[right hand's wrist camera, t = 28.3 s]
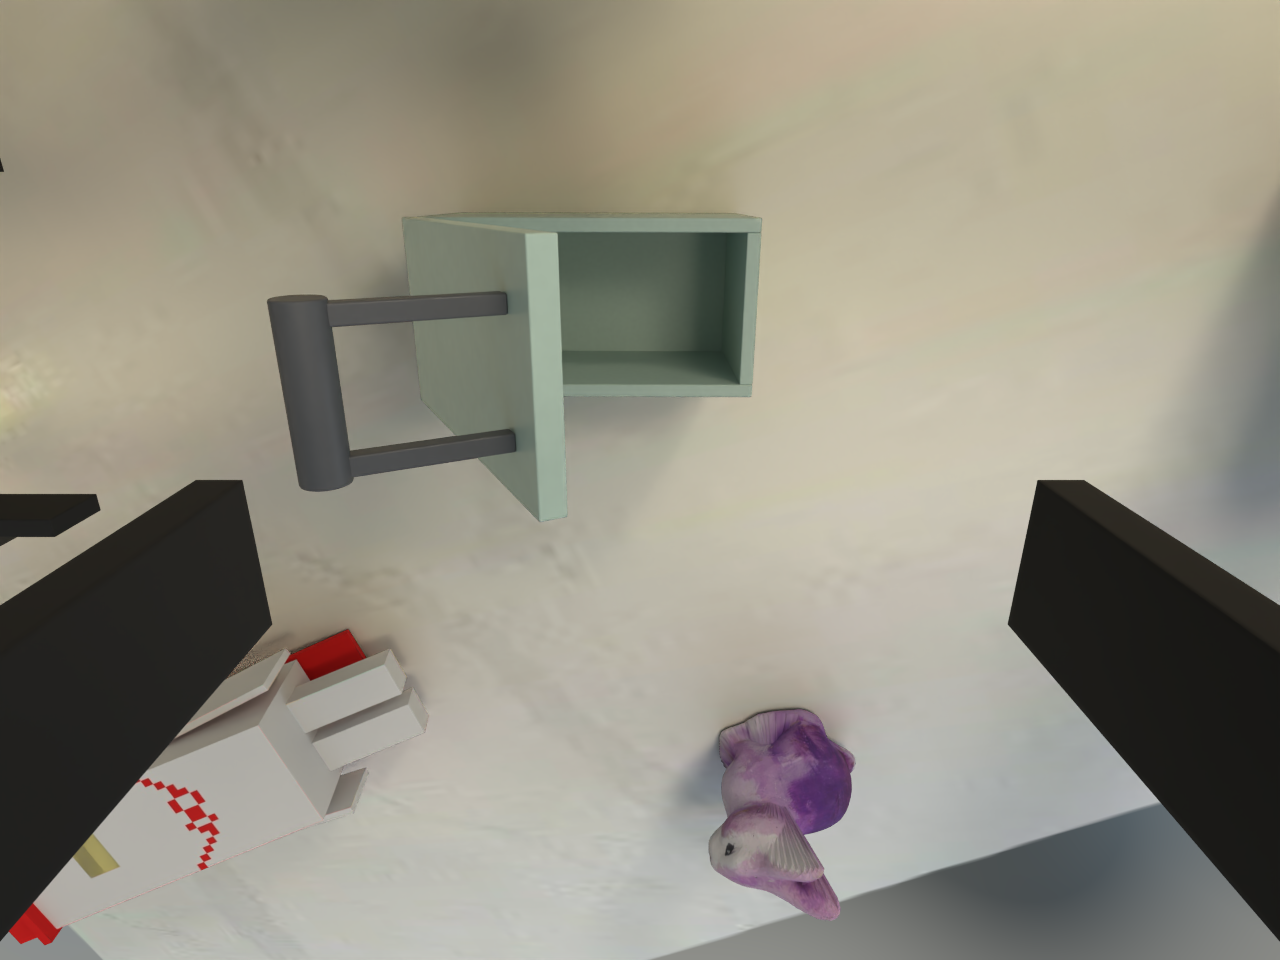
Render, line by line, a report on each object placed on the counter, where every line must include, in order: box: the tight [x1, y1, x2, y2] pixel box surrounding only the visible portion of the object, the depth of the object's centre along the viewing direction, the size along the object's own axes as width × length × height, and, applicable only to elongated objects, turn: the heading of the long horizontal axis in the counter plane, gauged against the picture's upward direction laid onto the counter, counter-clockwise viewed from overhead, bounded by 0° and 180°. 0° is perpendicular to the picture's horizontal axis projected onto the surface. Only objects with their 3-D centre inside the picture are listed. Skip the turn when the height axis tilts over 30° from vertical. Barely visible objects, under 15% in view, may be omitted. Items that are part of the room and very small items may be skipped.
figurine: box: [709, 709, 856, 921], centre depth 54 cm, size 9×10×15 cm
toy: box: [9, 630, 429, 945], centre depth 55 cm, size 12×13×30 cm
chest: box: [421, 213, 762, 397], centre depth 43 cm, size 17×9×10 cm, turn 90°
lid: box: [267, 217, 567, 522], centre depth 29 cm, size 18×9×8 cm
